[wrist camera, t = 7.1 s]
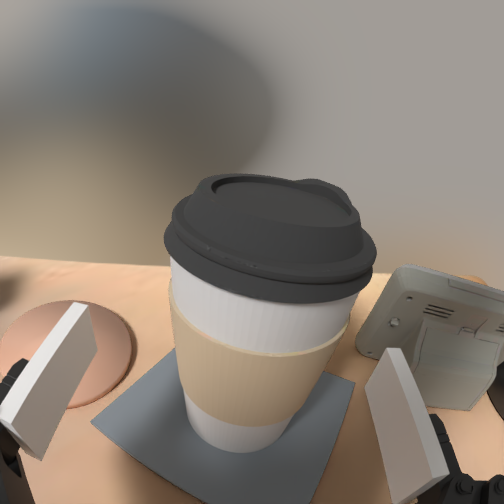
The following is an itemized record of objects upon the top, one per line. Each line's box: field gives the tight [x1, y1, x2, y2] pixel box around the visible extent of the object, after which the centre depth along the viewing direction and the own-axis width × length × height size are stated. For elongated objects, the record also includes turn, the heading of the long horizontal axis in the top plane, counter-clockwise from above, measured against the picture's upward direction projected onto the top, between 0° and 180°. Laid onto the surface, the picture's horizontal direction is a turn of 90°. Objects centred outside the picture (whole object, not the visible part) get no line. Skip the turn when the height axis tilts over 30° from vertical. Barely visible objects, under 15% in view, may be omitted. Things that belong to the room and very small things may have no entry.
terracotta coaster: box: [0, 300, 132, 409], centre depth 20 cm, size 12×12×1 cm
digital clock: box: [355, 264, 504, 411], centre depth 21 cm, size 16×9×11 cm, turn 62°
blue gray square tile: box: [90, 348, 355, 504], centre depth 19 cm, size 14×14×1 cm
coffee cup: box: [164, 174, 377, 453], centre depth 16 cm, size 9×9×15 cm
